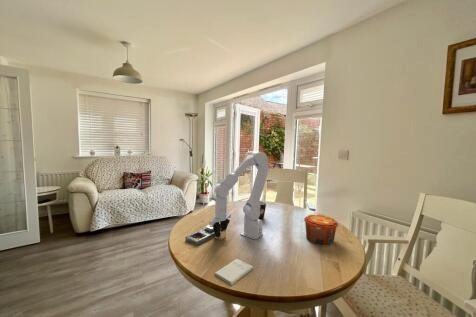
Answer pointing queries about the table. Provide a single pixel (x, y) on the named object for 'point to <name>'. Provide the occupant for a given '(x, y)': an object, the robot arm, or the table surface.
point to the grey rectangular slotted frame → (202, 234)
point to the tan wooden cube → (221, 234)
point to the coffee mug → (262, 209)
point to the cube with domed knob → (209, 229)
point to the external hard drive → (233, 271)
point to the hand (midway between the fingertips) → (220, 235)
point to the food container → (320, 229)
